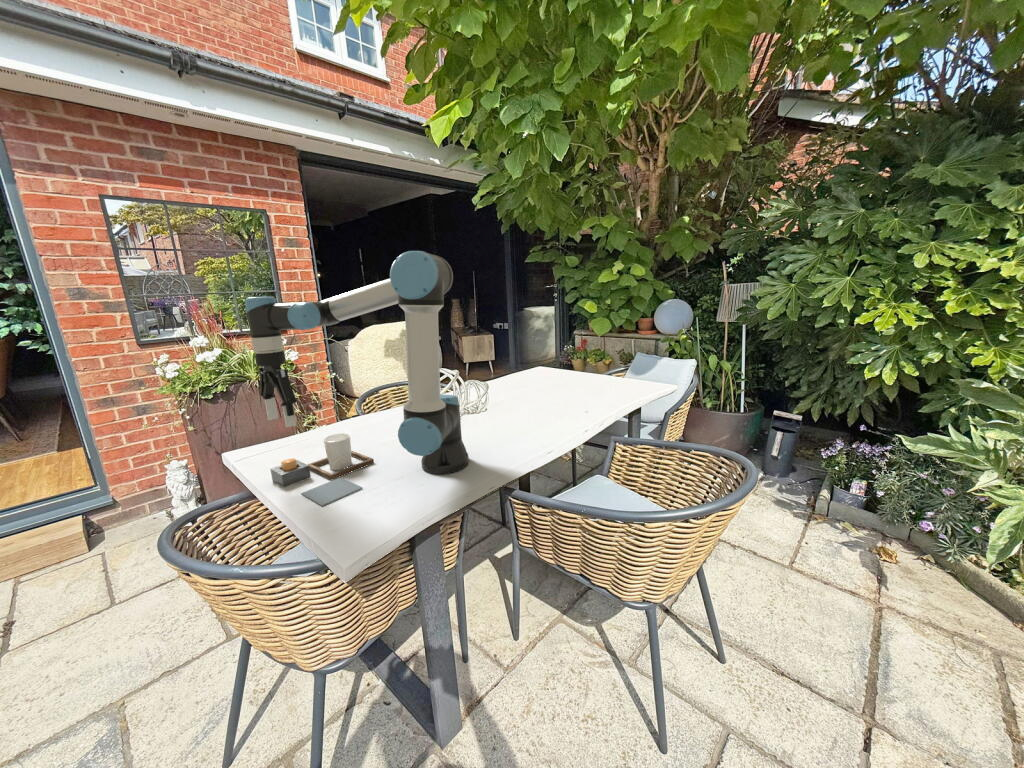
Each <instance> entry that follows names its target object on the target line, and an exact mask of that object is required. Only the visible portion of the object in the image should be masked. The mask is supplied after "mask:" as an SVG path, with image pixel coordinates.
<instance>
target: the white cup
mask: <svg viewBox="0 0 1024 768" xmlns="http://www.w3.org/2000/svg"><path fill="white" fill-rule="evenodd" d="M323 444H324V448H325V453H326V458H328V461H329V463H328V465H329V469H330V470H332V471H340V469H342V470H343V469H344V468H347V467H349V466H350V465H351V464H353V463H352V456H351V451H352V445H351V435H350V434H349V433H335V434H331V435H328V436H326V437H324V438H323ZM351 466H352V465H351Z"/></svg>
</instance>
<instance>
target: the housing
mask: <svg viewBox="0 0 1024 768" xmlns="http://www.w3.org/2000/svg"><path fill="white" fill-rule="evenodd" d="M296 463H297V468H294V469H292V470H289V471H286V472H285V471H283V470H282V465H281V464H280V465H278V466H274V467H272V468H270V473H271V480H272V482H274V483H276V484H277V485H279V486H280V487H282V488H287V487H289V486H292V485H294V484H295V485H296V484H297V483H300V482H303V481H305V480H308V479H311V478H310V477H311V470H310V469H309V465H307V464H306V463H304V462H303V461H301V460H298V459H296ZM307 478H308V479H307ZM302 480H303V481H302Z"/></svg>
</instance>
